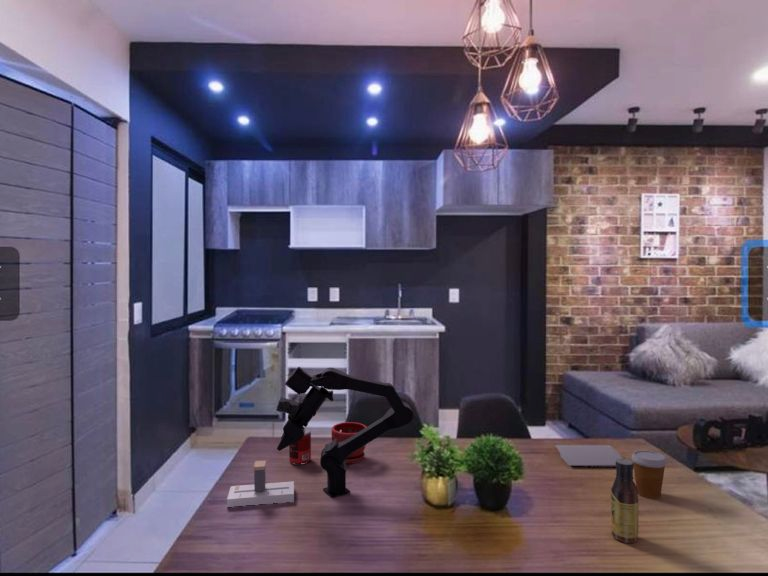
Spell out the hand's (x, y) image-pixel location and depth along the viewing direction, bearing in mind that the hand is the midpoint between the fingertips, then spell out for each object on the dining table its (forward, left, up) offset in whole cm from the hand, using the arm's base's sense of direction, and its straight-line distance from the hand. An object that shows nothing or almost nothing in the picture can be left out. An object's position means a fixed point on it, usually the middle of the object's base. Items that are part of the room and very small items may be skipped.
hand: (280, 444), depth 149 cm
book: (-32, -104, -16) cm, 111 cm away
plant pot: (+14, -31, -16) cm, 38 cm away
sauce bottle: (-71, -65, -16) cm, 98 cm away
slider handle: (+1, +6, -12) cm, 14 cm away
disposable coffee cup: (-60, -95, -16) cm, 114 cm away
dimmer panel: (0, +6, -15) cm, 16 cm away
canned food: (+22, -15, -16) cm, 31 cm away
